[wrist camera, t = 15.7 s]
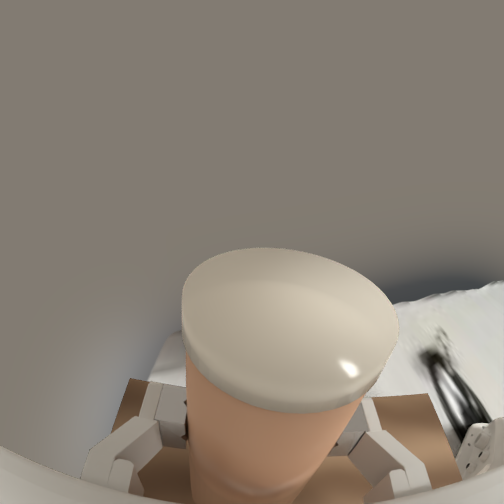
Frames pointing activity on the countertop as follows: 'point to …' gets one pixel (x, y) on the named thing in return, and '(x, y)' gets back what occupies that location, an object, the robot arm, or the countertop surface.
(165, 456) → the shelf
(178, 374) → the countertop surface
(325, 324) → the jar
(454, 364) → the countertop surface
